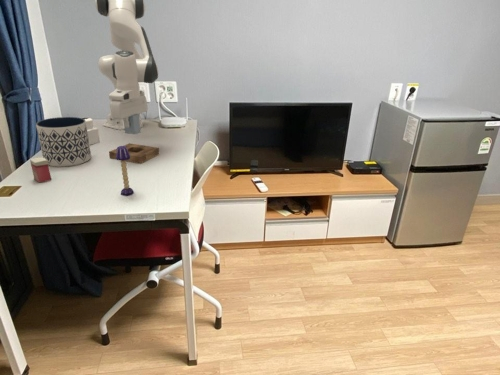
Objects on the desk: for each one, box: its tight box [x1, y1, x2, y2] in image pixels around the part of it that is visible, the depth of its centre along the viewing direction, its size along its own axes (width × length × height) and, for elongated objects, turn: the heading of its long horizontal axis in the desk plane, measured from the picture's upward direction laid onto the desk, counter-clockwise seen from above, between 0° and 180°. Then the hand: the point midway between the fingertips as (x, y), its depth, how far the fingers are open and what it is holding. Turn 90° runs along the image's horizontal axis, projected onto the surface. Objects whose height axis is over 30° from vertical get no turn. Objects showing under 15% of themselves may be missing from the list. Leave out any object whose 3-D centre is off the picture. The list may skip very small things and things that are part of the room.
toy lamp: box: [115, 145, 135, 197], centre depth 117 cm, size 5×5×17 cm
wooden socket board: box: [108, 142, 160, 165], centre depth 154 cm, size 16×14×3 cm
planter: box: [35, 116, 92, 168], centre depth 144 cm, size 18×18×16 cm
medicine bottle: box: [81, 117, 100, 146], centre depth 167 cm, size 7×7×12 cm
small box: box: [29, 156, 52, 183], centre depth 126 cm, size 5×4×8 cm
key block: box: [124, 114, 141, 135], centre depth 149 cm, size 5×5×8 cm
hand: (132, 125), depth 149 cm, fingers closed on key block, 4 cm apart
